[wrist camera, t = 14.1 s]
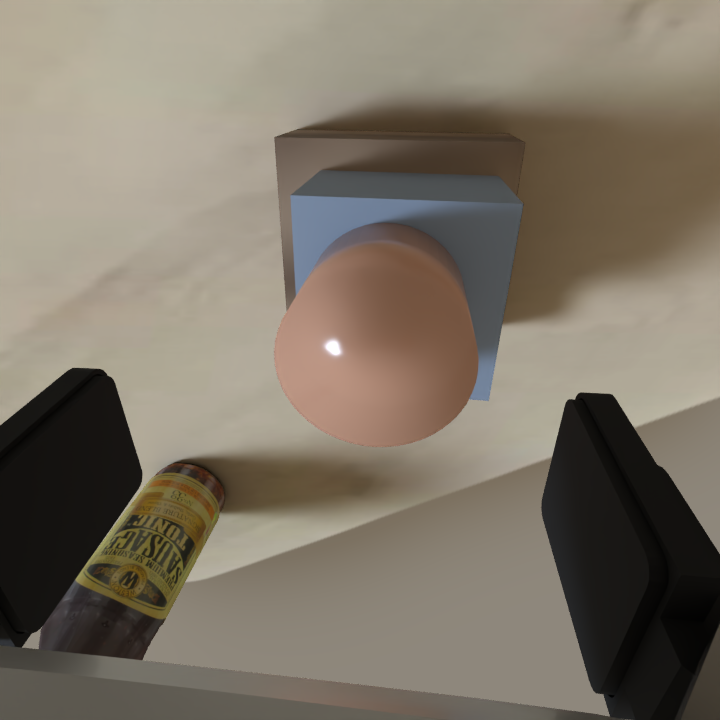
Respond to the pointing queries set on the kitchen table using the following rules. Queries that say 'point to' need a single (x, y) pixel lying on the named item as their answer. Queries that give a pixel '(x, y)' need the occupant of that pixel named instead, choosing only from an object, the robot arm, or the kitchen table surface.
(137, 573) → the sauce bottle
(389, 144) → the tower base
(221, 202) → the kitchen table surface
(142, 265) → the kitchen table surface
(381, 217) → the tower middle
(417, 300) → the terracotta cylinder
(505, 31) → the kitchen table surface
